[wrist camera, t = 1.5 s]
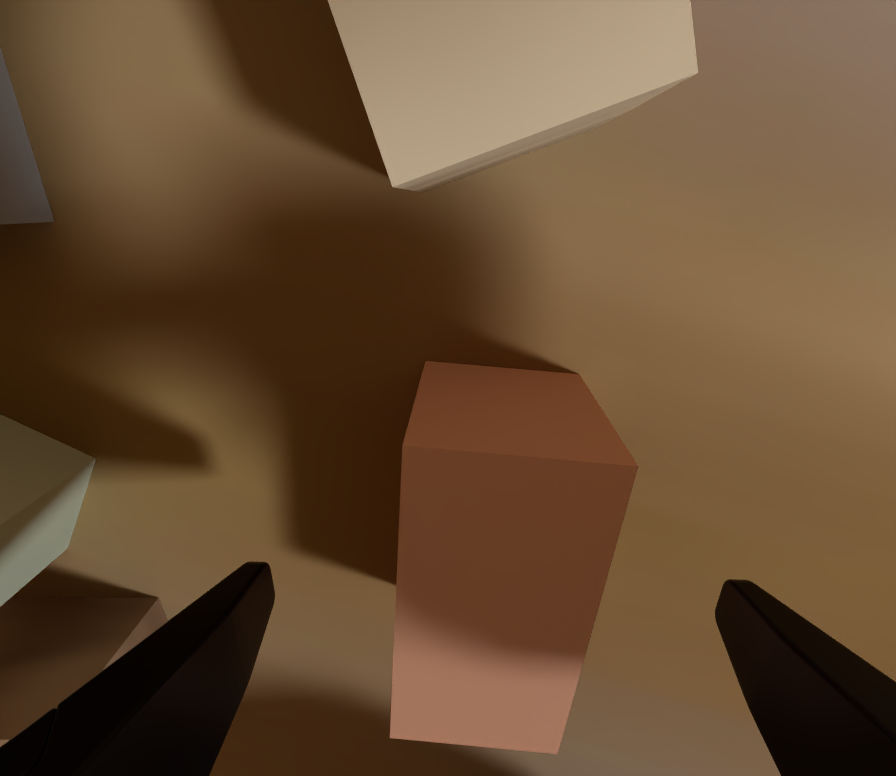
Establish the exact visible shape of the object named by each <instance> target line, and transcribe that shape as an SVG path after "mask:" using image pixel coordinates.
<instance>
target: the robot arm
mask: <svg viewBox="0 0 896 776" xmlns="http://www.w3.org/2000/svg"><path fill="white" fill-rule="evenodd" d="M274 600H275V590H274V585H273V580H272V574H271V569H270V566H269V564H268V563H266V562H247V563H245V564H243V565H242V566H241V567H239V568H238V569H237V570H235V571H234V572H233V573H231V574H230V575H229V576H227V577H226V578H225V579H223V580H222V581H221V582H219V583H218V584H217V585H215V586H214V587H213V588H211V589H210V590H209V591H207V592H206V593H205V594H203V595H202V596H201V597H199V598H198V599H197V600H196V601H194V602H193V603H192V604H190V605H189V606H188V607H186V608H185V609H184V610H182V611H181V612H180V613H178V614H177V615H176V616H174V617H173V618H172V619H170V620H169V621H168V622H166V623H165V624H164V625H162V626H161V627H160V628H158V629H157V630H156V631H154V632H153V633H152V634H150V635H149V636H148V637H146V638H145V639H144V640H142V641H141V642H140V643H138V644H137V645H136V646H134V647H133V648H132V649H131V650H129V651H128V652H127V653H125V654H124V655H123V656H121V657H120V658H119V659H117V660H116V661H115V662H113V663H112V664H111V665H109V666H108V667H107V668H105V669H104V670H103V671H101V672H100V673H99V674H97V675H96V676H95V677H93V678H92V679H91V680H89V681H88V682H87V683H85V684H84V685H83V686H81V687H80V688H79V689H77V690H76V691H75V692H73V693H72V694H71V695H69V696H68V697H67V698H66V699H64V700H63V701H62V702H60V703H59V704H58V706H57V709H56V708H52V709H51V710H49V711H48V712H47V713H45V714H44V715H43V716H41V717H40V718H39V719H37V720H36V721H35V722H33V723H32V724H31V725H29V726H28V727H27V728H25V729H24V730H23V731H21V732H20V733H19V734H17V735H16V736H15V737H13V738H12V739H10V740H9V741H8V742H6V743H5V744H4V745H2V746H1V747H0V776H209V775H210V772H211V770H212V768H213V765H214V763H215V761H216V758H217V756H218V754H219V751H220V749H221V747H222V744H223V742H224V740H225V737H226V735H227V733H228V730H229V728H230V726H231V723H232V721H233V719H234V716H235V714H236V712H237V709H238V707H239V705H240V702H241V700H242V698H243V695H244V693H245V690H246V688H247V685H248V682H249V680H250V677H251V674H252V671H253V668H254V665H255V661H256V658H257V655H258V652H259V649H260V646H261V643H262V639H263V636H264V633H265V630H266V627H267V624H268V621H269V617H270V614H271V611H272V608H273V605H274ZM715 618H716V623H717V626H718V628H719V631H720V634H721V636H722V639H723V642H724V644H725V647H726V650H727V652H728V655H729V658H730V660H731V663H732V666H733V668H734V671H735V674H736V676H737V679H738V682H739V684H740V687H741V690H742V692H743V695H744V697H745V700H746V702H747V705H748V707H749V709H750V712H751V714H752V716H753V718H754V720H755V722H756V725H757V727H758V729H759V731H760V733H761V735H762V737H763V739H764V741H765V743H766V745H767V747H768V749H769V751H770V754H771V756H772V758H773V760H774V762H775V764H776V766H777V768H778V770H779V772H780V774H781V776H896V682H895V681H894V680H892V679H891V678H889V677H888V676H886V675H885V674H884V673H882V672H881V671H879V670H878V669H876V668H875V667H873V666H872V665H871V664H869V663H868V662H866V661H865V660H863V659H862V658H861V657H859V656H858V655H856V654H855V653H853V652H852V651H851V650H849V649H848V648H846V647H845V646H843V645H842V644H840V643H839V642H838V641H836V640H835V639H833V638H832V637H830V636H829V635H828V634H826V633H825V632H823V631H822V630H820V629H819V628H818V627H816V626H815V625H813V624H812V623H810V622H809V621H807V620H806V619H805V618H803V617H802V616H800V615H799V614H797V613H796V612H795V611H793V610H792V609H790V608H789V607H787V606H786V605H785V604H783V603H782V602H780V601H779V600H777V599H776V598H774V597H773V596H772V595H770V594H769V593H767V592H766V591H764V590H763V589H762V588H760V587H759V586H757V585H756V584H754V583H753V582H751V581H748V580H734V579H729V580H727V581H725V582H724V584H723V587H722V590H721V593H720V596H719V599H718V603H717V606H716V609H715Z"/></svg>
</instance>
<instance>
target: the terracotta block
mask: <svg viewBox="0 0 896 776" xmlns="http://www.w3.org/2000/svg"><path fill="white" fill-rule="evenodd" d="M637 469H638V465H637V464H636V462H635V461H634V459H633V457H632V456H631V454H630V453H629V451H628V450H627V448H626V446H625V445H624V443H623V442H622V440H621V439H620V437H619V436H618V434H617V432H616V431H615V429H614V428H613V426H612V425H611V423H610V421H609V420H608V418H607V417H606V415H605V414H604V412H603V411H602V409H601V407H600V406H599V404H598V403H597V401H596V400H595V398H594V396H593V395H592V393H591V392H590V390H589V389H588V387H587V385H586V384H585V382H584V381H583V379H582V378H581V376H580V375H579V374H572V373H561V372H549V371H537V370H526V369H514V368H503V367H491V366H479V365H468V364H456V363H445V362H433V361H425V365H424V368H423V372H422V375H421V379H420V383H419V386H418V390H417V394H416V397H415V401H414V405H413V408H412V412H411V416H410V419H409V423H408V427H407V430H406V434H405V438H404V441H403V445H402V466H401V489H400V513H399V536H398V559H397V583H396V606H395V630H394V653H393V676H392V700H391V723H390V738H395V739H406V740H416V741H427V742H437V743H448V744H458V745H468V746H479V747H489V748H500V749H510V750H521V751H531V752H542V753H552V754H558V751H559V747H560V744H561V740H562V737H563V733H564V729H565V726H566V722H567V719H568V715H569V712H570V708H571V704H572V701H573V697H574V694H575V690H576V687H577V683H578V679H579V676H580V672H581V669H582V665H583V662H584V658H585V654H586V651H587V647H588V644H589V640H590V637H591V633H592V630H593V626H594V622H595V619H596V615H597V612H598V608H599V605H600V601H601V597H602V594H603V590H604V587H605V583H606V580H607V576H608V572H609V569H610V565H611V562H612V558H613V555H614V551H615V547H616V544H617V540H618V537H619V533H620V530H621V526H622V522H623V519H624V515H625V512H626V508H627V505H628V501H629V497H630V494H631V490H632V487H633V483H634V480H635V476H636V472H637Z"/></svg>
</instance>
